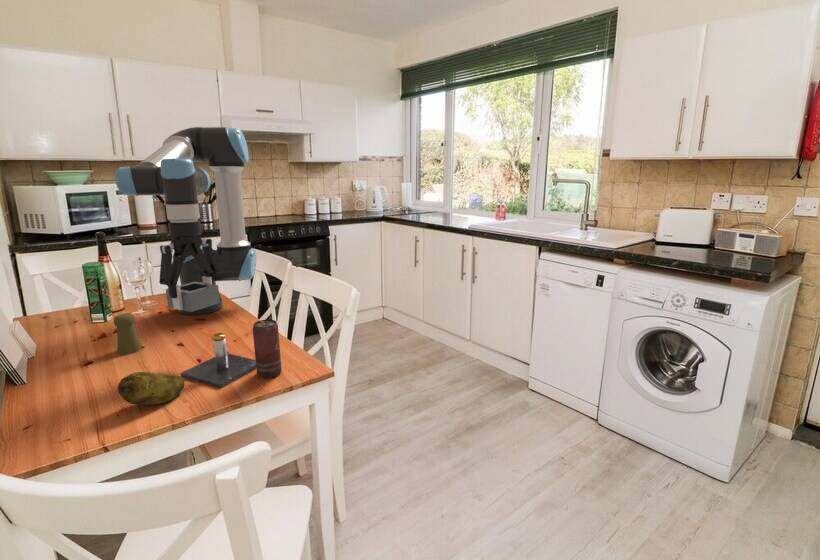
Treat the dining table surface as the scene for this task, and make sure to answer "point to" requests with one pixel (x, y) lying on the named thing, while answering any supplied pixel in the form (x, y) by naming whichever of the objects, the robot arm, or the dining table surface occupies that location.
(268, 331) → the can
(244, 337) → the dining table surface
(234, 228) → the robot arm
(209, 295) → the grey open square box
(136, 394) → the green avocado
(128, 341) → the cork
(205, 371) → the post
